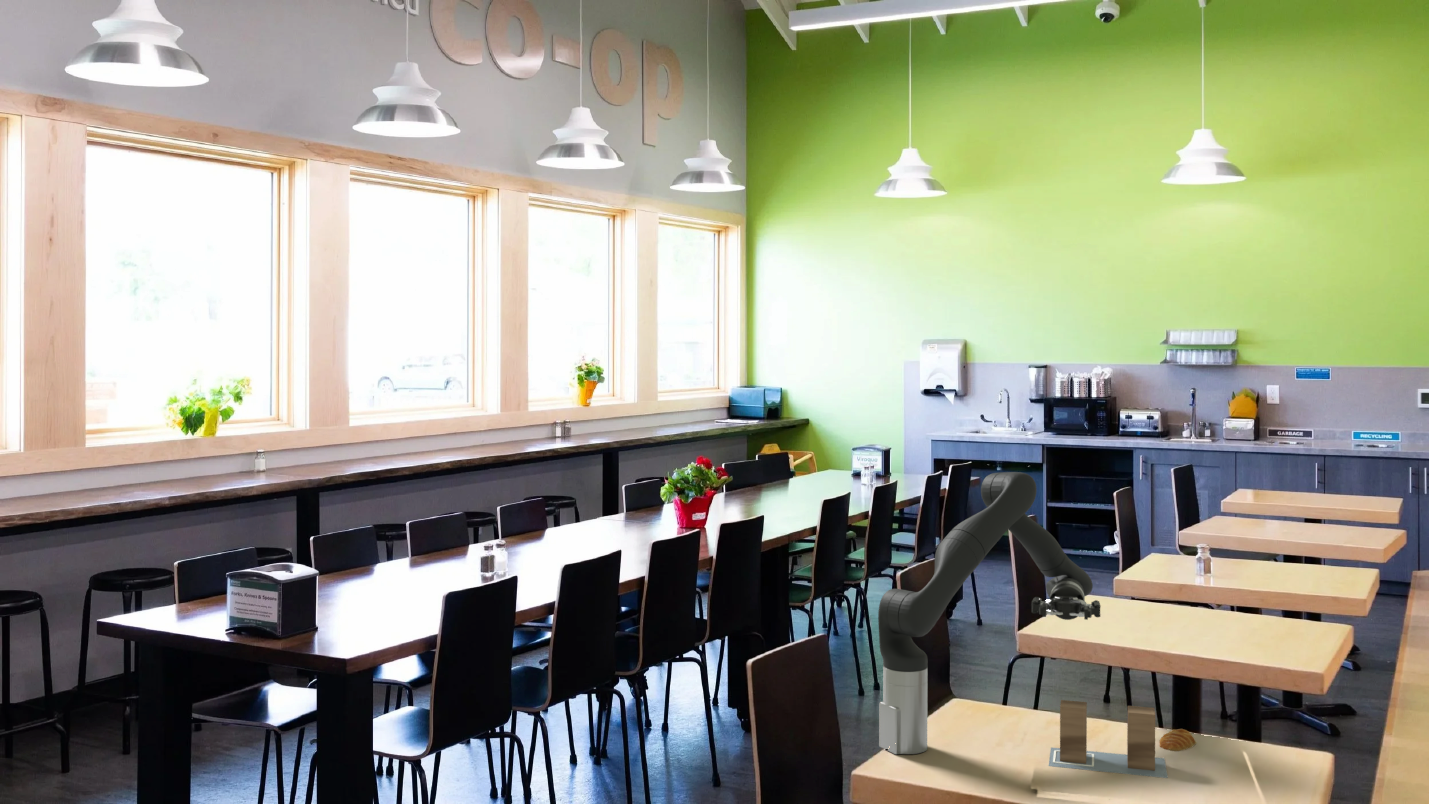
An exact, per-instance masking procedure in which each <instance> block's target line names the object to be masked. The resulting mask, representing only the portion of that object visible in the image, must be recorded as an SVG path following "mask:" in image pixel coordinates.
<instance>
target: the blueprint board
mask: <svg viewBox="0 0 1429 804" xmlns="http://www.w3.org/2000/svg"><path fill="white" fill-rule="evenodd" d="M1048 767H1053V768H1054V767H1055V768H1065V769H1073V770H1085V771H1093V772H1105V773H1112V774H1113V773H1114V774H1124V775H1134V776H1141V777H1142V776H1143V777H1153V778H1165V779H1168V771H1167V766H1166V759H1165V758H1164V757H1156V756H1155V771H1153V770H1142V769H1132V768H1128V764H1127V754H1124V753H1112V752H1104V751H1103V752H1102V751H1092V750H1087V757H1086V764H1083V763H1073V762H1063V761H1060V747H1050V751H1049V760H1048Z"/></svg>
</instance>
